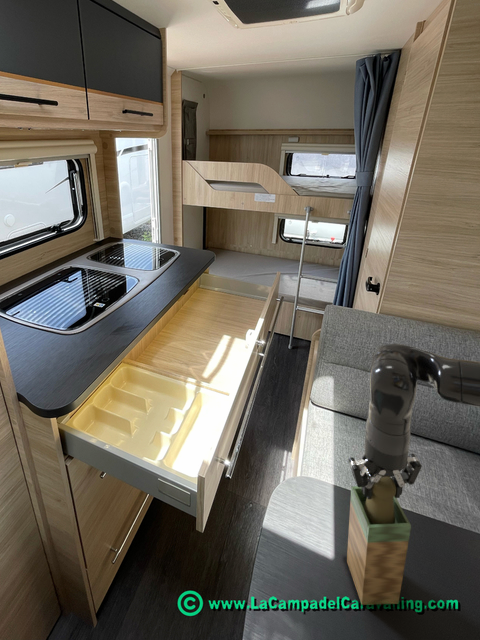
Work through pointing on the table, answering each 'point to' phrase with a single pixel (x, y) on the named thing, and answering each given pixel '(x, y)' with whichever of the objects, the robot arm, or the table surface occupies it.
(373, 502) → the cork
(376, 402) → the robot arm
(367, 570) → the box
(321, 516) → the table surface
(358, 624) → the table surface
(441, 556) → the table surface
